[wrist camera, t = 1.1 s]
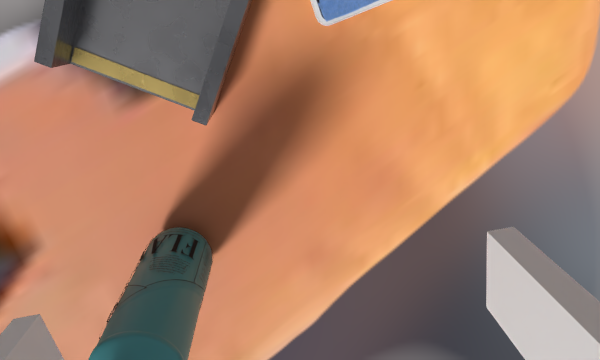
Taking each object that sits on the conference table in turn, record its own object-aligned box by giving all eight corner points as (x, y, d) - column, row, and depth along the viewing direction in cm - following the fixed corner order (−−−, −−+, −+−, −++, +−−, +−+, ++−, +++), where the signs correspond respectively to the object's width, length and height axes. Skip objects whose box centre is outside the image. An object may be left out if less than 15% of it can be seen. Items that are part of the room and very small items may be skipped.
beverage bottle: (214, 217, 40) (164, 393, 21) (218, 273, 42) (176, 475, 24) (146, 217, 39) (35, 398, 21) (154, 274, 42) (61, 482, 23)
